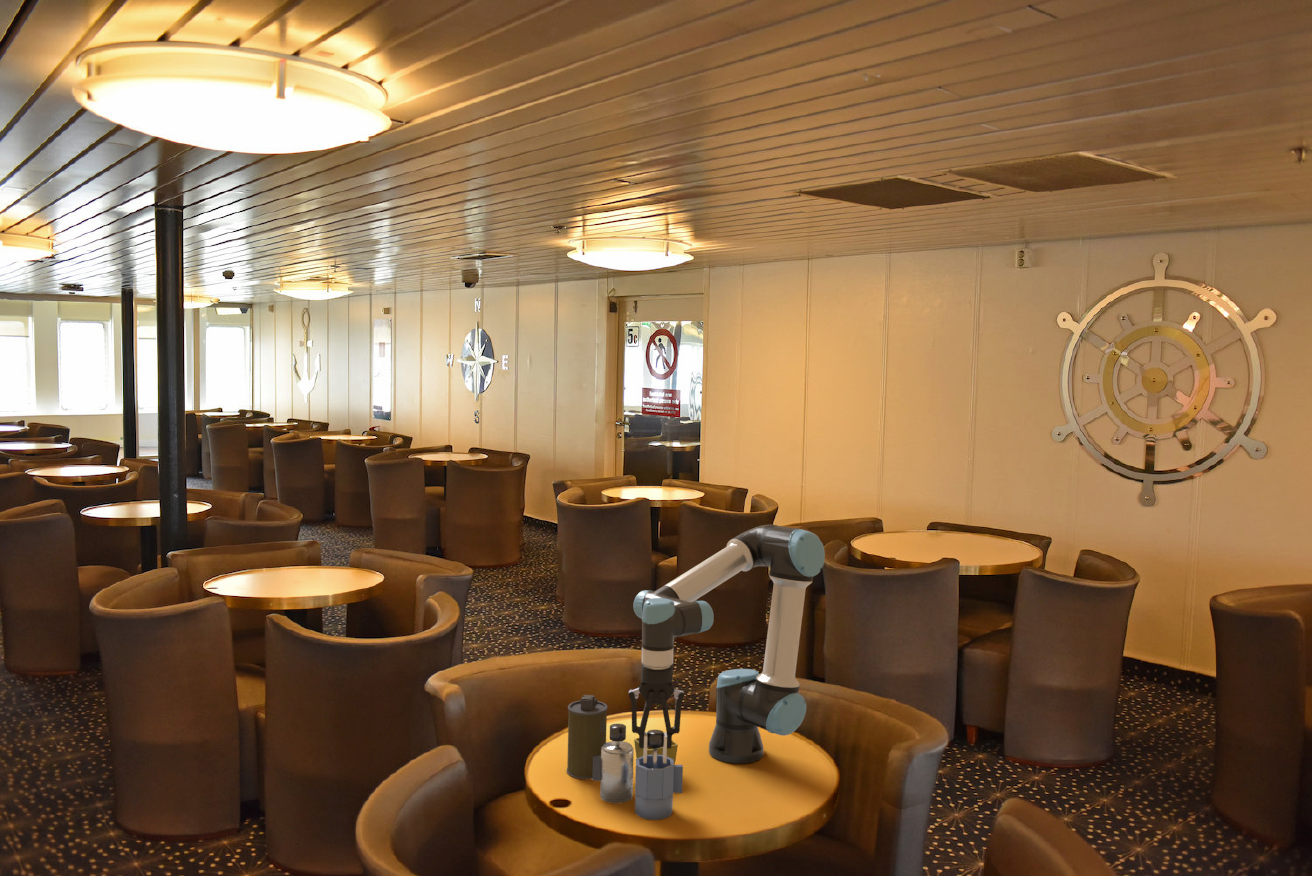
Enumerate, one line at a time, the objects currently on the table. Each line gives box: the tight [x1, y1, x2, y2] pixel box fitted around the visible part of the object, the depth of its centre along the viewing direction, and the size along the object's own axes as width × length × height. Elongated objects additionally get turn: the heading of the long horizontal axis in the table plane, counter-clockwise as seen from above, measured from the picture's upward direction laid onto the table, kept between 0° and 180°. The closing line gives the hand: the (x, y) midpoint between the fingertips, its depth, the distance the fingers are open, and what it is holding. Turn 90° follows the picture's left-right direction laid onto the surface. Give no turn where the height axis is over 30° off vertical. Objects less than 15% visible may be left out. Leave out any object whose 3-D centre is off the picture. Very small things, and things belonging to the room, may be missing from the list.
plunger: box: [646, 729, 664, 769], centre depth 225 cm, size 7×7×14 cm
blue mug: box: [634, 755, 684, 821], centre depth 225 cm, size 11×9×12 cm
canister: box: [566, 694, 608, 780], centre depth 247 cm, size 11×10×20 cm
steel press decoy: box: [591, 723, 635, 804], centre depth 233 cm, size 10×8×18 cm
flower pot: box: [633, 737, 679, 765], centre depth 246 cm, size 9×9×9 cm
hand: (654, 760), depth 225 cm, fingers closed on plunger, 4 cm apart
